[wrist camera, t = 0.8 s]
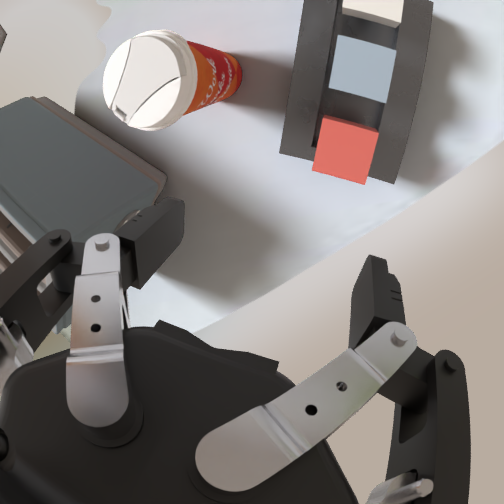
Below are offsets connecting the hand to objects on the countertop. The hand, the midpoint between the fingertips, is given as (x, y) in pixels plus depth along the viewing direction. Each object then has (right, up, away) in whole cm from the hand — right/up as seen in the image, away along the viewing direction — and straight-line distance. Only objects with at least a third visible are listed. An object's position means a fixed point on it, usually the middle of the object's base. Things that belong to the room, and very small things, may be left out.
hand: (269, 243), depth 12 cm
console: (+10, +18, +13) cm, 25 cm away
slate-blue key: (+9, +16, +10) cm, 21 cm away
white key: (+10, +22, +6) cm, 24 cm away
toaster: (-27, +11, +31) cm, 42 cm away
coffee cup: (-5, +20, +17) cm, 27 cm away
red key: (+8, +10, +14) cm, 19 cm away
